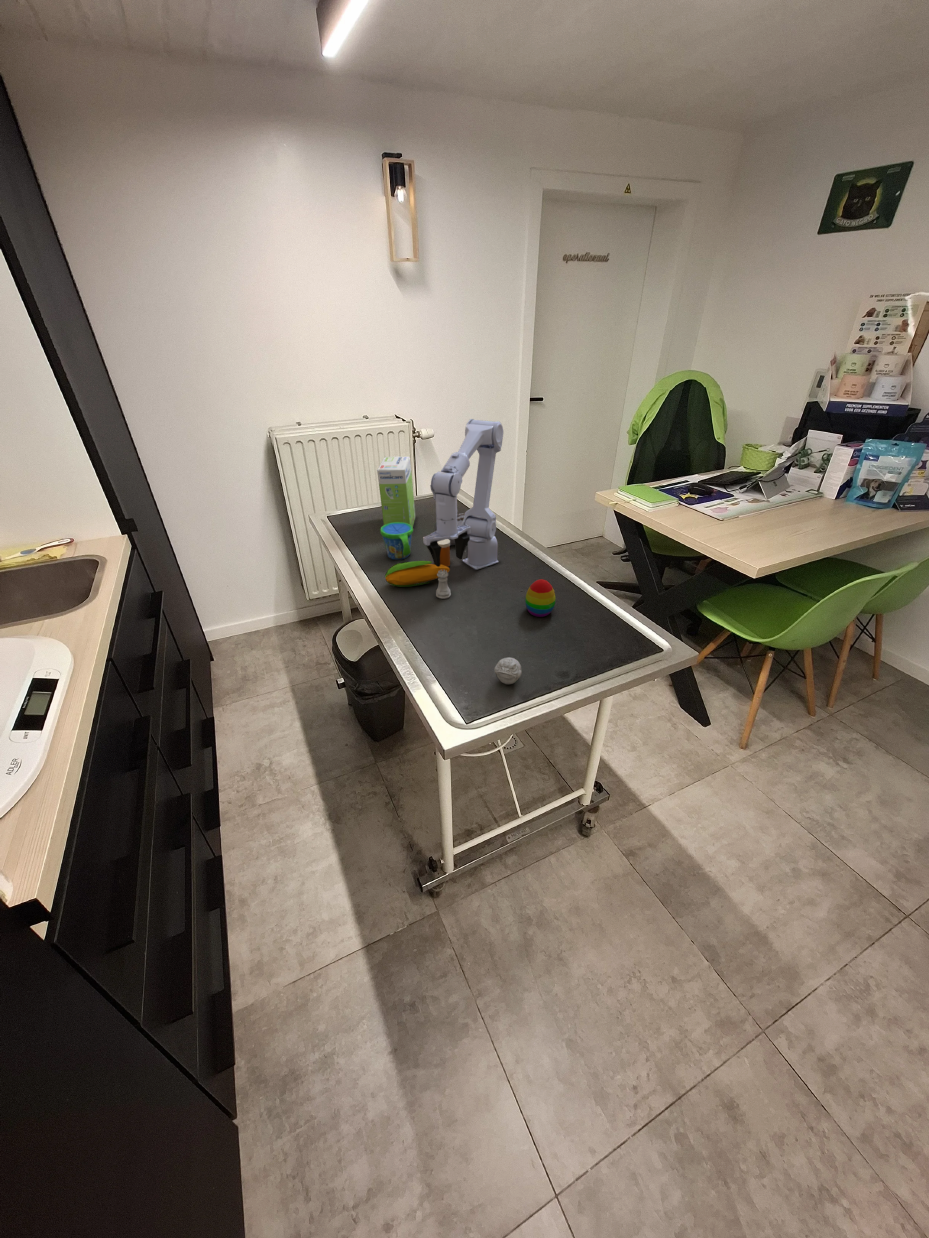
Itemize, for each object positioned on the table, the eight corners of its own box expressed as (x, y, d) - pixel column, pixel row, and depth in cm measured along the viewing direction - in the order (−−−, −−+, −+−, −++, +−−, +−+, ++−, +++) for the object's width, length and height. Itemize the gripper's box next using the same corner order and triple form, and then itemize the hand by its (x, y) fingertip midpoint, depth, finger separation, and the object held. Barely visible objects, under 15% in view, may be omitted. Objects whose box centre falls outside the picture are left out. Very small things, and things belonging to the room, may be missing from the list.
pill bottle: (445, 559, 163) (444, 536, 158) (453, 564, 159) (453, 542, 155) (433, 563, 160) (432, 540, 156) (441, 568, 157) (440, 545, 152)
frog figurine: (490, 688, 109) (490, 664, 105) (499, 670, 114) (500, 646, 110) (516, 695, 107) (517, 670, 103) (524, 676, 112) (526, 652, 108)
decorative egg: (558, 618, 132) (561, 586, 127) (529, 621, 131) (531, 589, 126) (548, 602, 139) (552, 572, 134) (521, 605, 138) (523, 574, 132)
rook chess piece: (445, 601, 140) (444, 576, 136) (432, 597, 142) (431, 572, 138) (453, 594, 143) (453, 570, 139) (441, 590, 145) (440, 566, 141)
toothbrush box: (390, 517, 194) (384, 455, 181) (415, 517, 194) (411, 455, 181) (383, 535, 180) (376, 469, 166) (411, 535, 180) (406, 469, 166)
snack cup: (421, 562, 161) (419, 534, 155) (390, 568, 157) (387, 539, 152) (407, 544, 173) (404, 517, 167) (378, 549, 169) (374, 522, 164)
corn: (381, 559, 146) (446, 551, 150) (384, 581, 150) (446, 571, 155) (385, 572, 140) (452, 562, 145) (388, 594, 145) (452, 584, 149)
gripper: (431, 527, 126) (434, 574, 133) (477, 515, 132) (476, 559, 140) (418, 519, 131) (421, 564, 138) (462, 507, 137) (462, 551, 145)
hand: (448, 561), depth 139 cm, fingers open, 7 cm apart
